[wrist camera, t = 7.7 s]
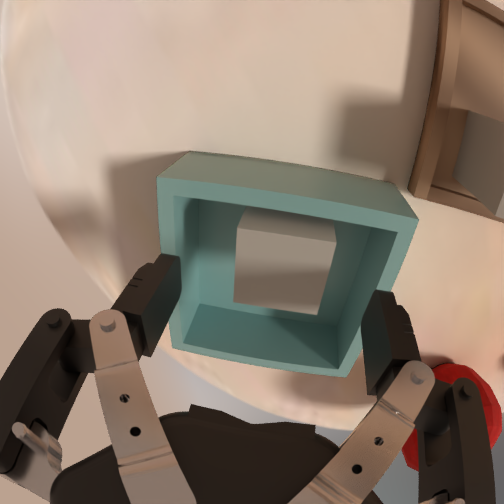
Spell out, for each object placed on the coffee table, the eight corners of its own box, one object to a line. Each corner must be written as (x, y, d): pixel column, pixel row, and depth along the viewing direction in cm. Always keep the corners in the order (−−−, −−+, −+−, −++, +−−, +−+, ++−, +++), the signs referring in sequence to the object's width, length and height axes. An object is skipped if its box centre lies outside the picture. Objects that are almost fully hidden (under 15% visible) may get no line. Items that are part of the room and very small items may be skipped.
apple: (374, 389, 26) (380, 492, 17) (446, 331, 21) (479, 448, 12) (433, 406, 27) (445, 489, 18) (497, 357, 22) (525, 447, 13)
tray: (440, -14, 9) (449, -19, 8) (547, 49, 8) (557, 50, 7) (407, 188, 16) (413, 196, 15) (509, 219, 15) (517, 227, 14)
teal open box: (190, 151, 16) (156, 177, 13) (394, 183, 16) (419, 219, 12) (191, 303, 23) (172, 347, 19) (343, 328, 22) (346, 377, 18)
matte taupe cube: (255, 184, 16) (237, 227, 12) (328, 195, 16) (336, 242, 12) (250, 246, 19) (233, 302, 14) (315, 256, 18) (316, 314, 14)
